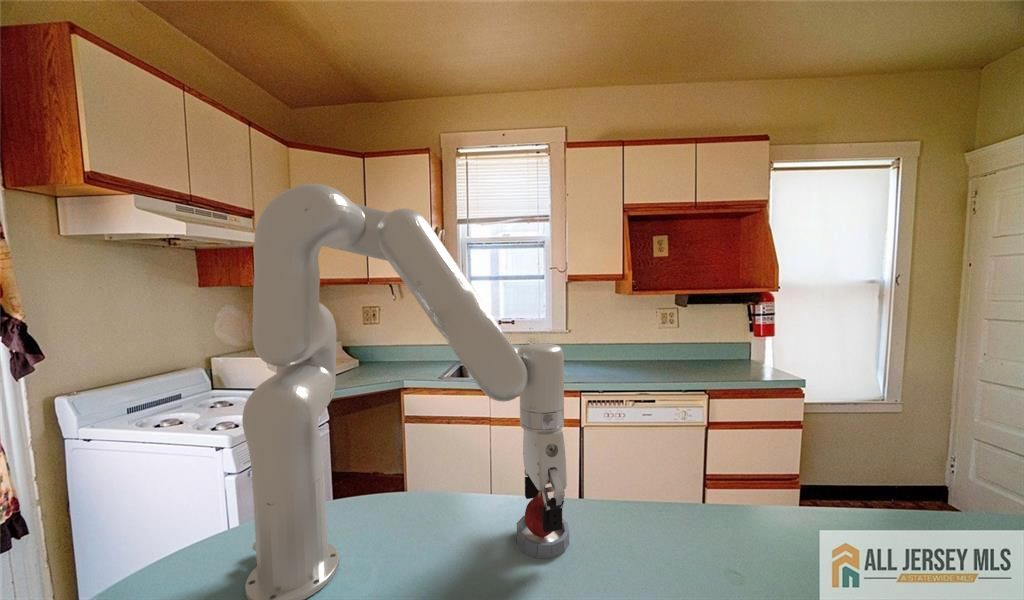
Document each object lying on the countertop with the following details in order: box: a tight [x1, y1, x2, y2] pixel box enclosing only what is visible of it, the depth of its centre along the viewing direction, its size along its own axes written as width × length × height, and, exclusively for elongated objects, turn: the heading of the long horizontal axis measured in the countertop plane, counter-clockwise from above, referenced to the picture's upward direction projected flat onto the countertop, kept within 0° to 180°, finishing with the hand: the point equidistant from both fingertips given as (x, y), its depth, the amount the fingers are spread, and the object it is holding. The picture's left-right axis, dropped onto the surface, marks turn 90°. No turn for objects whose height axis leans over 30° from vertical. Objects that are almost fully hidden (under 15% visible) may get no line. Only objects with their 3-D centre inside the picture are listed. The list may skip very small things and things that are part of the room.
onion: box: [524, 492, 553, 538], centre depth 68 cm, size 6×6×8 cm
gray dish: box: [516, 515, 570, 559], centre depth 69 cm, size 9×9×2 cm
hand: (542, 512), depth 69 cm, fingers open, 9 cm apart
